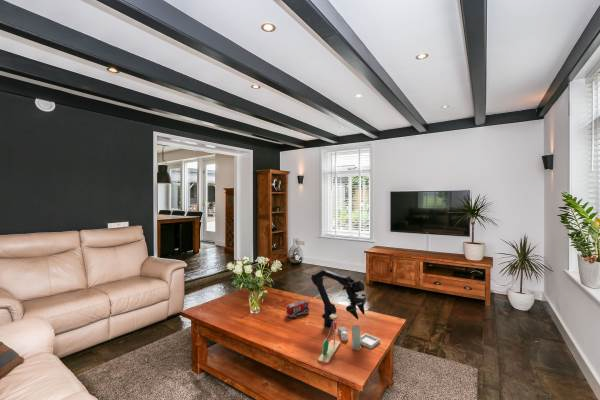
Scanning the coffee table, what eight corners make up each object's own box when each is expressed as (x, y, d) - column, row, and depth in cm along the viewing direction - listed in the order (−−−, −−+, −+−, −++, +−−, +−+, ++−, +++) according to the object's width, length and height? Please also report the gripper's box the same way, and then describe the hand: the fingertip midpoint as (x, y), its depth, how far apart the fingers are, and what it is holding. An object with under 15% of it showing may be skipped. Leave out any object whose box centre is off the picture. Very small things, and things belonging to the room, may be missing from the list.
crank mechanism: (331, 341, 187) (330, 312, 187) (340, 343, 184) (340, 314, 184) (317, 362, 165) (316, 329, 164) (327, 365, 162) (327, 331, 161)
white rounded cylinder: (341, 341, 188) (341, 334, 187) (340, 337, 192) (340, 331, 192) (348, 340, 188) (348, 334, 188) (346, 337, 192) (346, 330, 192)
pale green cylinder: (353, 350, 177) (353, 329, 176) (351, 345, 182) (351, 325, 182) (361, 349, 177) (361, 329, 177) (359, 345, 182) (359, 325, 182)
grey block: (340, 336, 193) (340, 330, 193) (337, 333, 198) (337, 327, 198) (347, 335, 194) (347, 330, 194) (344, 332, 199) (344, 326, 199)
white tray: (356, 342, 186) (356, 339, 186) (365, 336, 194) (365, 333, 194) (371, 348, 178) (371, 345, 178) (380, 342, 186) (380, 339, 186)
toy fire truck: (310, 313, 230) (310, 301, 230) (291, 319, 220) (290, 306, 220) (304, 310, 238) (304, 298, 238) (285, 315, 227) (285, 303, 227)
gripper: (354, 295, 185) (364, 319, 181) (367, 287, 200) (376, 309, 196) (341, 299, 191) (350, 322, 187) (354, 291, 206) (363, 313, 202)
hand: (361, 316), depth 193 cm, fingers open, 9 cm apart
